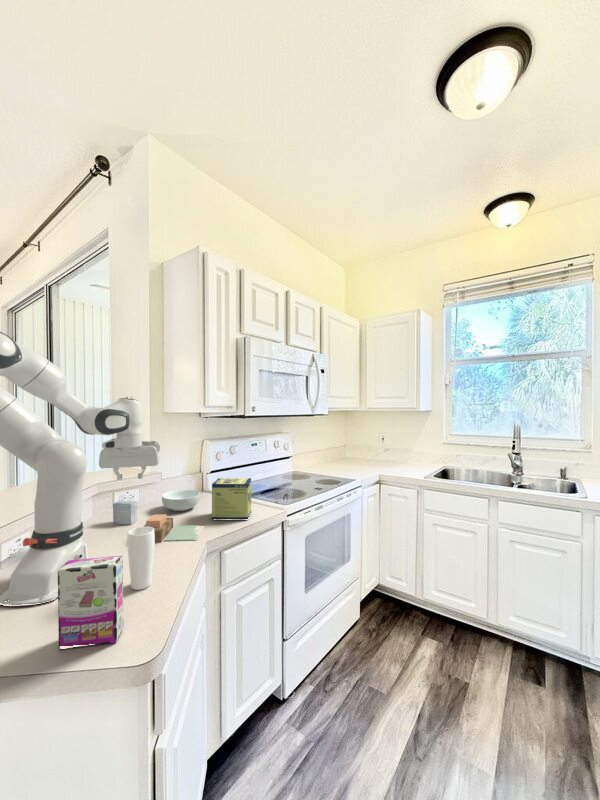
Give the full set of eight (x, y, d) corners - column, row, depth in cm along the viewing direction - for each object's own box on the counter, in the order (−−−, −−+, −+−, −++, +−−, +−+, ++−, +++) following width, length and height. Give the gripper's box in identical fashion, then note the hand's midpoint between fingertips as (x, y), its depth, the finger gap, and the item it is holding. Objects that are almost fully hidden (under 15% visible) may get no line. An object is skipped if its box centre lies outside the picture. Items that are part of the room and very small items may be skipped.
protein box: (248, 520, 145) (248, 483, 145) (211, 520, 145) (211, 483, 145) (251, 512, 156) (251, 477, 156) (217, 512, 156) (217, 477, 156)
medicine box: (137, 521, 145) (137, 500, 145) (131, 525, 141) (131, 503, 141) (119, 520, 146) (119, 500, 146) (112, 524, 141) (112, 503, 141)
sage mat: (196, 540, 125) (196, 539, 125) (164, 541, 125) (164, 540, 125) (205, 526, 139) (205, 525, 139) (175, 526, 138) (175, 525, 138)
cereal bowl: (184, 516, 150) (184, 500, 150) (153, 512, 156) (153, 497, 156) (207, 505, 167) (207, 490, 167) (178, 502, 172) (178, 487, 172)
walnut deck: (161, 542, 123) (161, 531, 123) (138, 543, 123) (137, 531, 123) (173, 527, 137) (173, 517, 137) (152, 528, 137) (152, 518, 137)
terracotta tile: (160, 527, 127) (160, 520, 127) (146, 527, 127) (146, 521, 127) (166, 520, 134) (166, 514, 134) (153, 521, 134) (153, 514, 134)
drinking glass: (147, 576, 100) (147, 524, 100) (159, 584, 95) (159, 529, 95) (123, 586, 94) (122, 531, 94) (134, 595, 90) (134, 537, 90)
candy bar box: (124, 628, 77) (124, 554, 77) (116, 643, 72) (116, 564, 72) (68, 634, 75) (68, 558, 75) (57, 651, 70) (56, 570, 70)
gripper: (160, 439, 135) (161, 475, 135) (102, 441, 130) (102, 478, 130) (158, 441, 129) (158, 479, 129) (97, 443, 124) (97, 482, 124)
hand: (130, 478), depth 130 cm, fingers open, 6 cm apart
